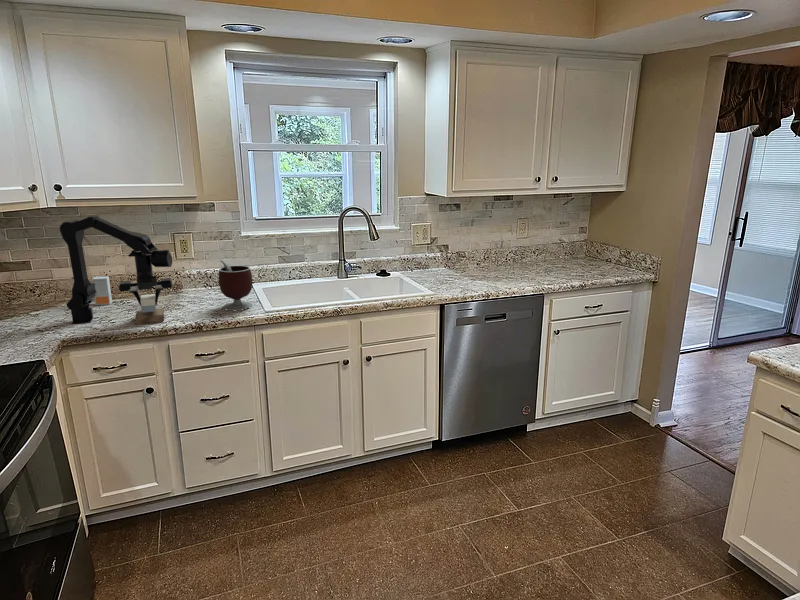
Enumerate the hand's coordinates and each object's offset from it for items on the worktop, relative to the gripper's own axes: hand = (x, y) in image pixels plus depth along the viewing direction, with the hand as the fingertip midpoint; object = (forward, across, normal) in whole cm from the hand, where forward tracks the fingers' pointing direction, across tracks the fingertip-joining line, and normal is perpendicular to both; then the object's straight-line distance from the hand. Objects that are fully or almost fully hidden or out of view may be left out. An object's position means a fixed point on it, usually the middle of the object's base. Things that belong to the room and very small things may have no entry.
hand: (148, 305), depth 212 cm
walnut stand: (+6, 0, 0) cm, 6 cm away
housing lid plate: (-1, 0, 0) cm, 1 cm away
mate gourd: (+6, +34, +7) cm, 35 cm away
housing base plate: (+2, 0, 0) cm, 2 cm away
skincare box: (+6, -20, +33) cm, 39 cm away
